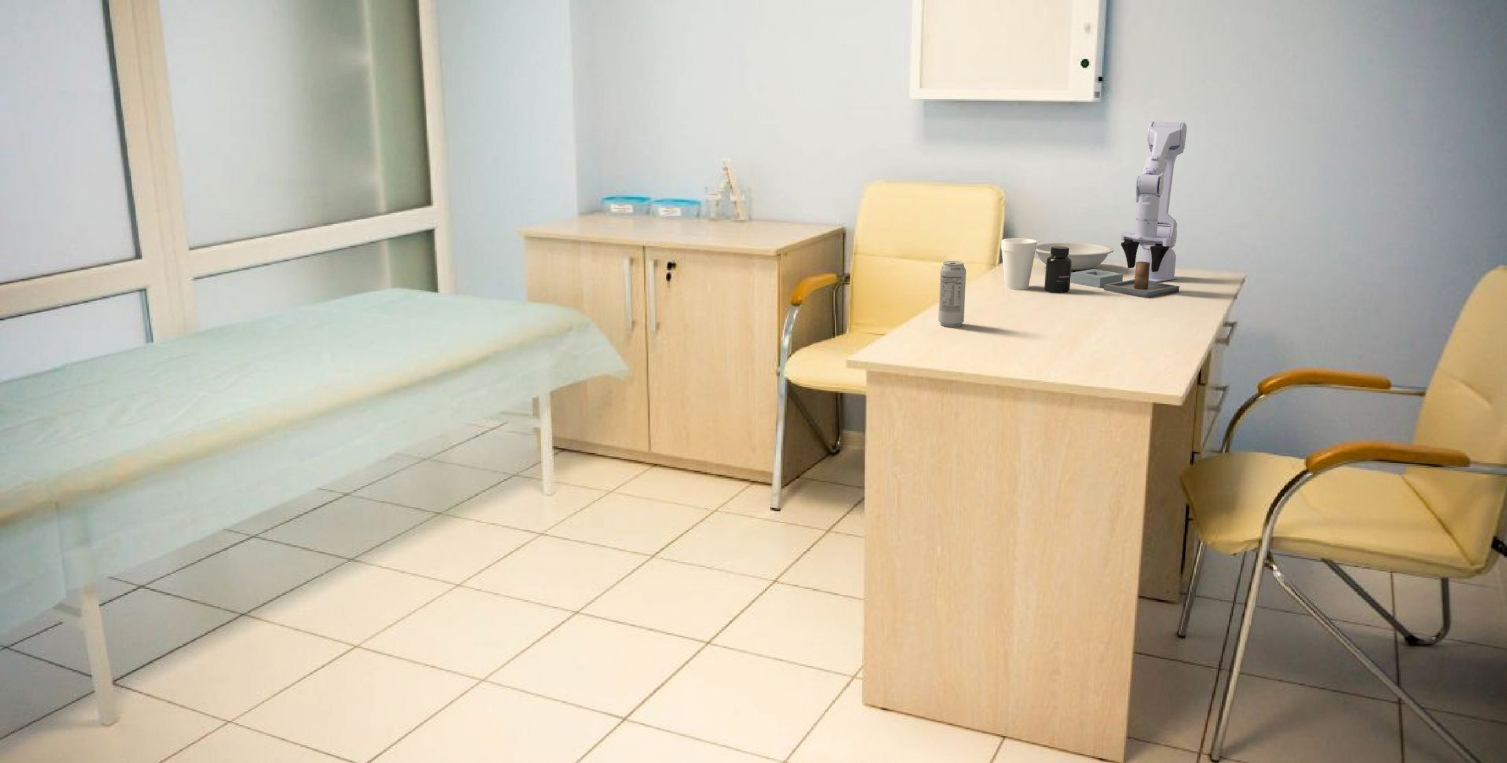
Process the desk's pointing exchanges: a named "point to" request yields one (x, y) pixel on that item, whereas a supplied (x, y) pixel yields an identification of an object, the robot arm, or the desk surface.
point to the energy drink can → (952, 294)
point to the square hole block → (1095, 277)
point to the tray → (1152, 290)
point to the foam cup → (1017, 262)
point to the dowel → (1142, 275)
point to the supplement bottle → (1058, 270)
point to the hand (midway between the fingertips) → (1142, 269)
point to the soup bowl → (1077, 253)
